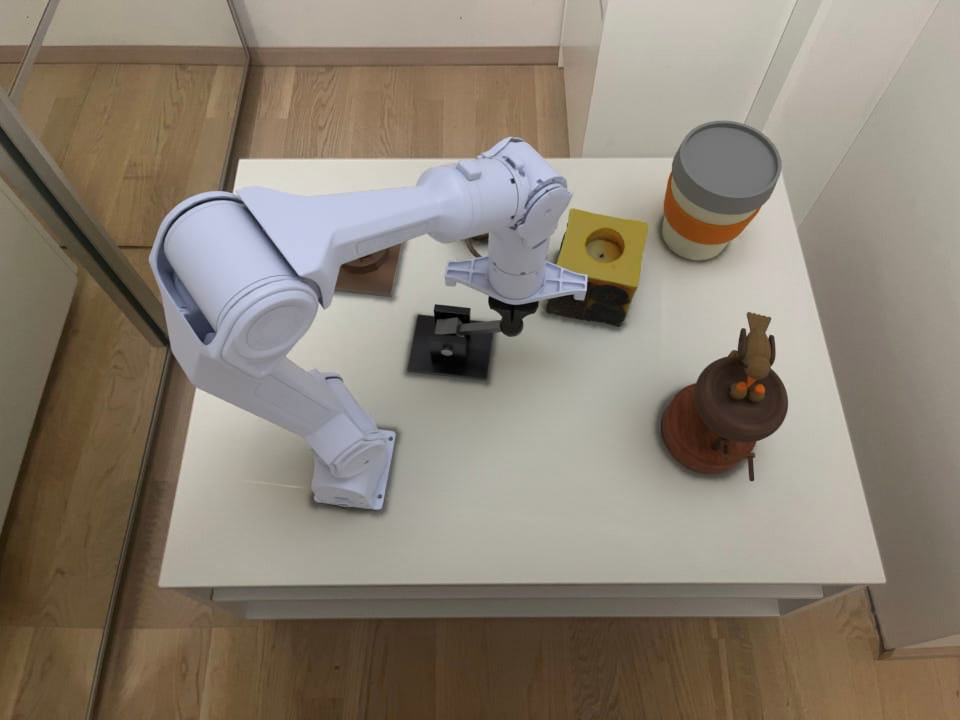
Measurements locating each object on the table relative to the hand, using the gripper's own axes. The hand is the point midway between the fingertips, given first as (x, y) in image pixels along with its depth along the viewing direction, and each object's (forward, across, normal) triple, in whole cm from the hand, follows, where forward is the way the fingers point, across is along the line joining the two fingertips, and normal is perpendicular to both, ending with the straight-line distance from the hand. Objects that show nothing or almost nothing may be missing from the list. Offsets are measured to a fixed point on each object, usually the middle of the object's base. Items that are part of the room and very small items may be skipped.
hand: (512, 319), depth 76 cm
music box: (+10, -25, +8) cm, 28 cm away
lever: (+4, +3, 0) cm, 5 cm away
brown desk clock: (+10, +4, -16) cm, 19 cm away
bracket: (+10, +7, 0) cm, 12 cm away
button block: (+10, +21, -12) cm, 27 cm away
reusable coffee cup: (+10, -24, -22) cm, 34 cm away
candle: (+10, -10, -11) cm, 18 cm away
